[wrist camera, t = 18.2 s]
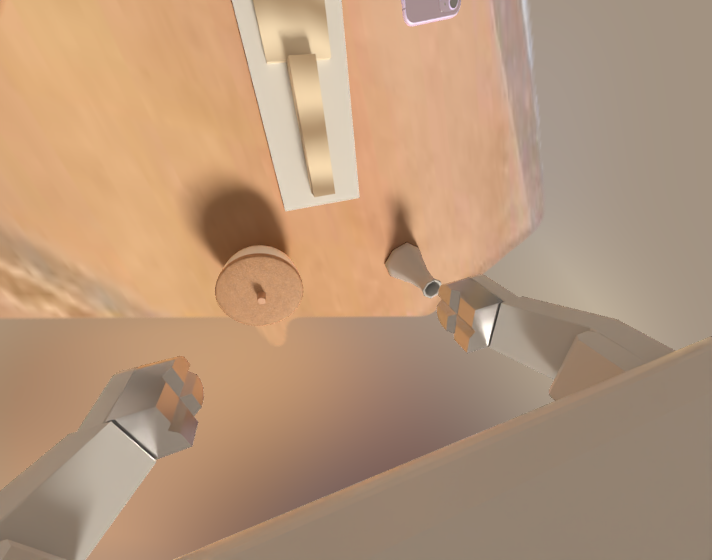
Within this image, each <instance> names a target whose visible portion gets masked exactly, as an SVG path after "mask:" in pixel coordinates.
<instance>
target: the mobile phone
mask: <svg viewBox="0 0 712 560" xmlns="http://www.w3.org/2000/svg"><path fill="white" fill-rule="evenodd" d="M401 2H402V11H403V18H404V21H405V23H406V24H407V25H408V26H417V25H421V24H426V23H431V22H436V21H440V20H445V19H450V18H453V17H454V16H456V14H457V13H458V11H459V9H460V5H461V0H401Z"/></svg>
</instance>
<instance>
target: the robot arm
mask: <svg viewBox="0 0 712 560" xmlns="http://www.w3.org/2000/svg"><path fill="white" fill-rule="evenodd" d="M438 296H439V297H440V298H441V301H440V302H439V303H438V305H437V315H438V319H439V321H440V323H441V325H442V326H443V327H444V329H445V330H446V331H449V332H451V333H454V340H455V341H456V342H457V343H458V344H459V345H460V346H461V347H462V348H463V350H464V351H465V352H466V353H469V352H473V351H476V350H479V349H482V348H486V347H489V346H490V348H491V349H493V350H495V351H497V352H499V353H501V354H503V355H505V356H507V357H509V358H511V359H513V360H516V361H517V362H519V363H521V364H523V365H525V366H527V367H529V368H532V369H533V370H535V371H537V372H539V373H542V374H544V375H546V376H548V377H550V378H552V379H554V381H553V383H552V385H551V387H550V389H549V395H550V397H551V398H553V399H554V400H555V401H554V402H551V403H549V404H547V405H544V406H542V407H539V408H537V409H535V410H532V411H530V412H528V413H525V414H523V415H520V416H518V417H515V418H513V419H511V420H508V421H506V422H503V423H501V424H499V425H496V426H494V427H491V428H489V429H487V430H484V431H482V432H479V433H477V434H474V435H472V436H470V437H467V438H465V439H463V440H460V441H458V442H455V443H453V444H450V445H448V446H446V447H443V448H441V449H438V450H436V451H433V452H431V453H429V454H426V455H424V456H422V457H419V458H417V459H414V460H412V461H409V462H407V463H405V464H402V465H400V466H397V467H395V468H393V469H390V470H388V471H385V472H383V473H381V474H378V475H376V476H373V477H371V478H368V479H366V480H364V481H361V482H359V483H357V484H354V485H352V486H349V487H347V488H344V489H342V490H340V491H338V492H335V493H332V494H330V495H328V496H325V497H323V498H320V499H318V500H316V501H313V502H311V503H308V504H306V505H303V506H301V507H299V508H296V509H294V510H291V511H289V512H287V513H284V514H282V515H280V516H277V517H275V518H272V519H270V520H268V521H265V522H263V523H260V524H258V525H255V526H253V527H251V528H248V529H246V530H243V531H241V532H239V533H236V534H234V535H232V536H229V537H227V538H224V539H222V540H219V541H217V542H215V543H212V544H210V545H207V546H205V547H203V548H200V549H198V550H196V551H193V552H191V553H188V554H186V555H183V556H181V557H179V558H176V559H174V560H712V336H710V337H708V338H705V339H703V340H701V341H698V342H696V343H693V344H691V345H689V346H686V347H684V348H681V349H679V350H677V351H675V350H673V349H672V348H669V347H667V346H666V345H664V344H662V343H660V342H658V341H656V340H655V339H653V338H651V337H649V336H647V335H645V334H644V333H642V332H640V331H638V330H636V329H634V328H632V327H630V326H629V325H627V324H625V323H623V322H621V321H619V320H617V319H614V318H609V317H605V316H601V315H597V314H593V313H589V312H585V311H581V310H577V309H572V308H569V307H564V306H560V305H556V304H552V303H548V302H543V301H540V300H536V299H532V298H528V297H524V296H522V297H517V296H516V295H514V294H513V293H511V292H510V291H508V290H507V289H505V288H504V287H502V286H501V285H499V284H498V283H496V282H494V281H493V280H491V279H490V278H488V277H487V276H485V275H483V274H477V275H474V276H470V277H467V278H465V279H461V280H458V281H454V282H450V283H447V284H443V285H441V286H440V288H439V291H438ZM189 367H190V363H189V362H188V361H187V360H186V358H185V357H183V356H177V357H173V358H170V359H165V360H161V361H158V362H153V363H150V364H145V365H141V366H139V367H134V368H131V369H127V370H123V371H119V372H118V373H116V374H114V375H113V376H112V378H111V379H110V381H109V382H108V384H107V385H106V387H105V388H104V390H103V392H102V393H101V395H100V396H99V398H98V399H97V401H96V402H95V404H94V405H93V407H92V408H91V410H90V412H89V413H88V415H87V416H86V418H85V419H84V421H83V422H82V424H81V426H80V427H79V429H78V430H77V432H74V433H71V434H68V435H67V436H66V437H65V438H63V439H62V440H61V441H60V442H59V443H57V444H56V445H55V446H54V447H52V448H51V449H50V450H49V451H48V452H46V453H45V454H44V455H43V456H41V457H40V458H39V459H38V460H37V461H36V462H34V463H33V464H32V465H31V466H29V467H28V468H27V469H26V470H25V471H23V472H22V473H21V474H20V475H18V476H17V477H16V478H15V479H14V480H12V481H11V482H10V483H9V484H8V485H6V486H5V487H4V488H3V489H2V490H0V560H86V559H87V557H88V556H89V554H90V553H91V552H92V550H93V549H94V548H95V546H96V545H97V544H98V542H99V541H100V539H101V538H102V537H103V535H104V534H105V532H106V531H107V530H108V528H109V527H110V525H111V524H112V523H113V521H114V520H115V519H116V517H117V516H118V514H119V513H120V511H121V510H122V509H123V507H124V506H125V505H126V503H127V502H128V501H129V499H130V498H131V496H132V495H133V494H134V492H135V491H136V489H137V488H138V487H139V485H140V484H141V483H142V481H143V480H144V478H145V477H146V475H147V474H148V473H149V471H150V470H151V469H152V467H153V466H154V464H155V463H156V460H157V459H159V458H162V457H165V456H168V455H170V454H173V453H176V452H179V451H181V450H184V449H187V448H189V447H192V445H193V441H194V437H195V433H196V428H197V425H198V421H197V420H196V418H195V417H194V416H195V414H196V413H197V412H198V411H199V409H201V407H202V404H203V399H204V391H203V385H202V382H201V380H200V378H199V377H198V375H197V374H194V373H191V372H189V371H188V370H189Z"/></svg>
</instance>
